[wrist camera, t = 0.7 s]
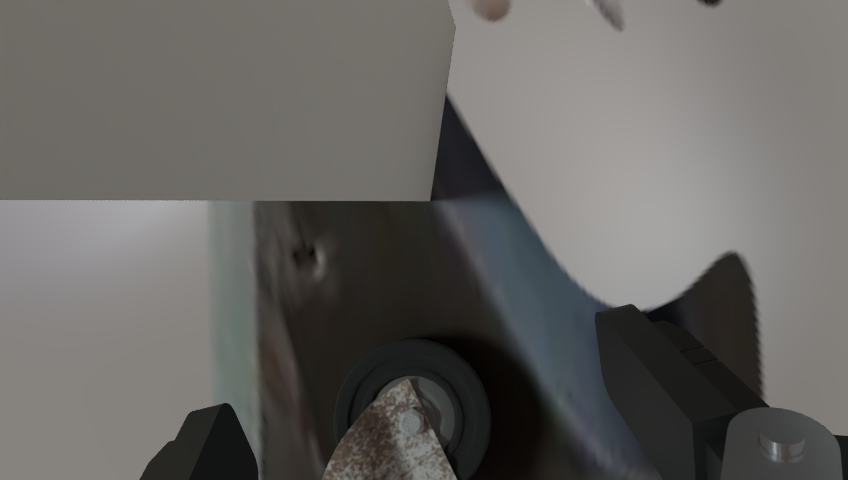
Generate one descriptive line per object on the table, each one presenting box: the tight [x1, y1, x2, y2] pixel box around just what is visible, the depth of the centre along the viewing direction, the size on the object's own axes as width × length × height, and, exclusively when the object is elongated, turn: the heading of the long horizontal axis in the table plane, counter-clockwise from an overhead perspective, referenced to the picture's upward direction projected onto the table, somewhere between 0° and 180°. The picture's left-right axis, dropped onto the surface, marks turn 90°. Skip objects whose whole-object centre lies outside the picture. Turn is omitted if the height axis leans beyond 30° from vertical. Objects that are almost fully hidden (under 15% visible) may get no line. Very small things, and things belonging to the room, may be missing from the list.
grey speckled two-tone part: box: [322, 338, 492, 480], centre depth 28 cm, size 7×11×10 cm
